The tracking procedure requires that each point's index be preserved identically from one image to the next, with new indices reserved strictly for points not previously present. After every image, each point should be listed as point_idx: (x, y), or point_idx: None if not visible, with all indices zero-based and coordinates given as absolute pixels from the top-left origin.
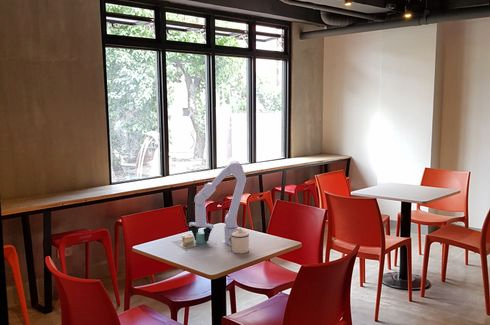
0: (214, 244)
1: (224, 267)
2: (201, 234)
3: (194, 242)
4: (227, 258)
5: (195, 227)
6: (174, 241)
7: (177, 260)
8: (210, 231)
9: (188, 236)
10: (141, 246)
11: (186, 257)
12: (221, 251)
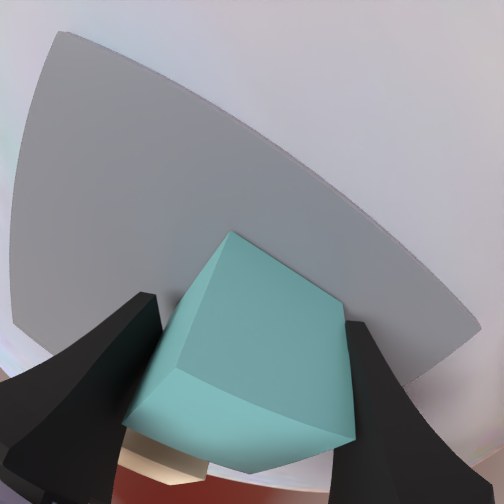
0: (450, 330)
1: (468, 464)
2: (272, 467)
3: (163, 323)
4: (496, 431)
5: (79, 501)
6: (17, 315)
7: (278, 484)
8: (442, 463)
9: (163, 475)
10: (5, 369)
11: (300, 473)
12: (489, 394)
